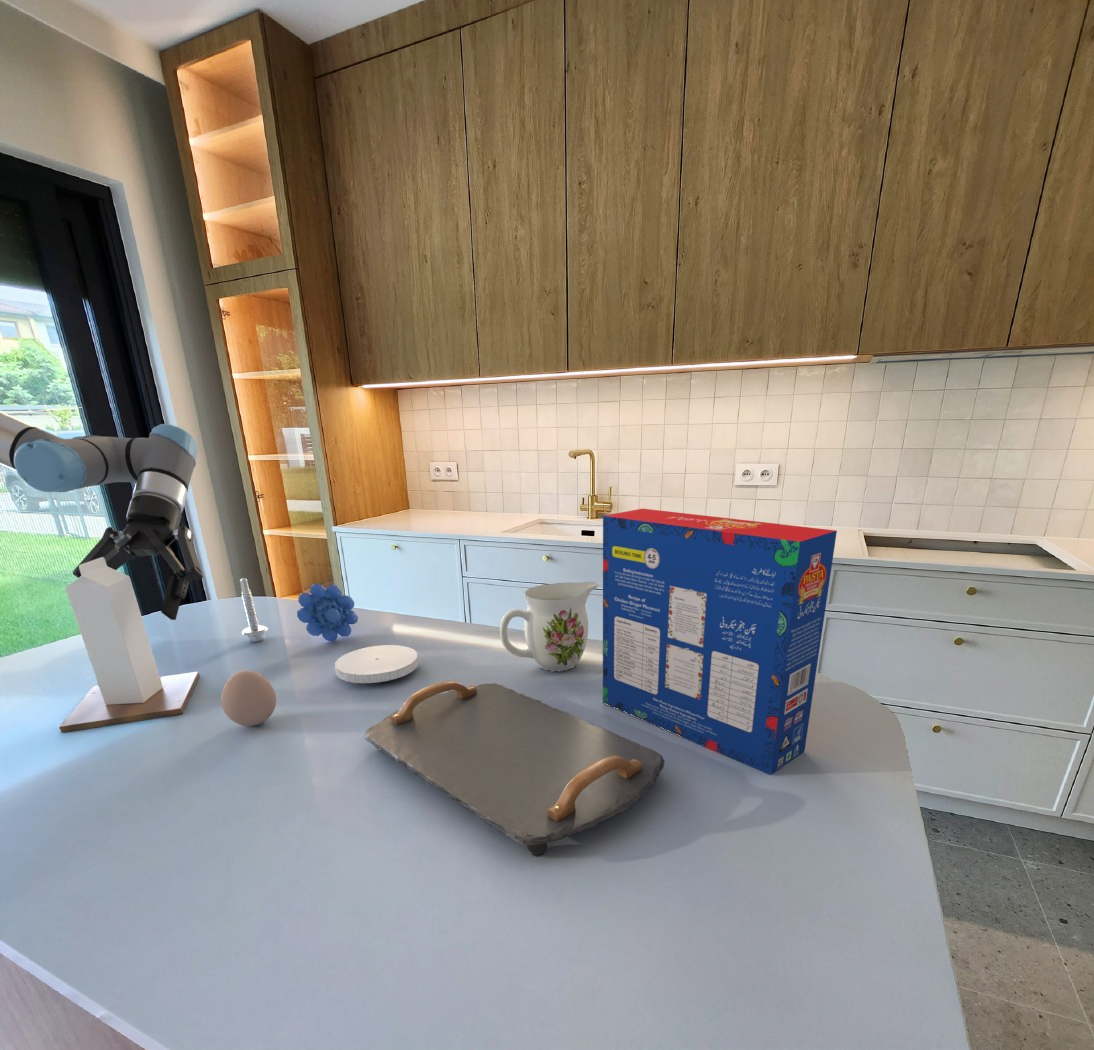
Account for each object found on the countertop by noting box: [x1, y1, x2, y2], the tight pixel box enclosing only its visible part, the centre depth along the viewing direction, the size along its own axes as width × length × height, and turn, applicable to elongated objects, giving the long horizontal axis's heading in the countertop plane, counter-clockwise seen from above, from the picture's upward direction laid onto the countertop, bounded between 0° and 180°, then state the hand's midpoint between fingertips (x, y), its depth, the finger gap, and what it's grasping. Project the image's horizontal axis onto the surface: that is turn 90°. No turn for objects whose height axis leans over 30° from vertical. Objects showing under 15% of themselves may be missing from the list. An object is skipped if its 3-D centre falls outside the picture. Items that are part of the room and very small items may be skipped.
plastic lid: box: [334, 644, 420, 684], centre depth 108 cm, size 14×14×2 cm
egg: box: [220, 669, 277, 727], centre depth 90 cm, size 7×7×8 cm
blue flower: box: [296, 583, 359, 642], centre depth 122 cm, size 12×7×12 cm, turn 128°
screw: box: [239, 577, 269, 643], centre depth 124 cm, size 13×5×5 cm
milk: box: [64, 557, 163, 705], centre depth 96 cm, size 6×6×22 cm
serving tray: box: [363, 680, 665, 857], centre depth 78 cm, size 39×23×6 cm, turn 44°
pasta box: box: [602, 508, 838, 776], centre depth 81 cm, size 28×8×28 cm, turn 41°
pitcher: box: [499, 581, 600, 672], centre depth 106 cm, size 11×18×14 cm, turn 110°
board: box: [59, 670, 200, 734], centre depth 100 cm, size 16×16×1 cm
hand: (126, 617), depth 99 cm, fingers open, 13 cm apart
